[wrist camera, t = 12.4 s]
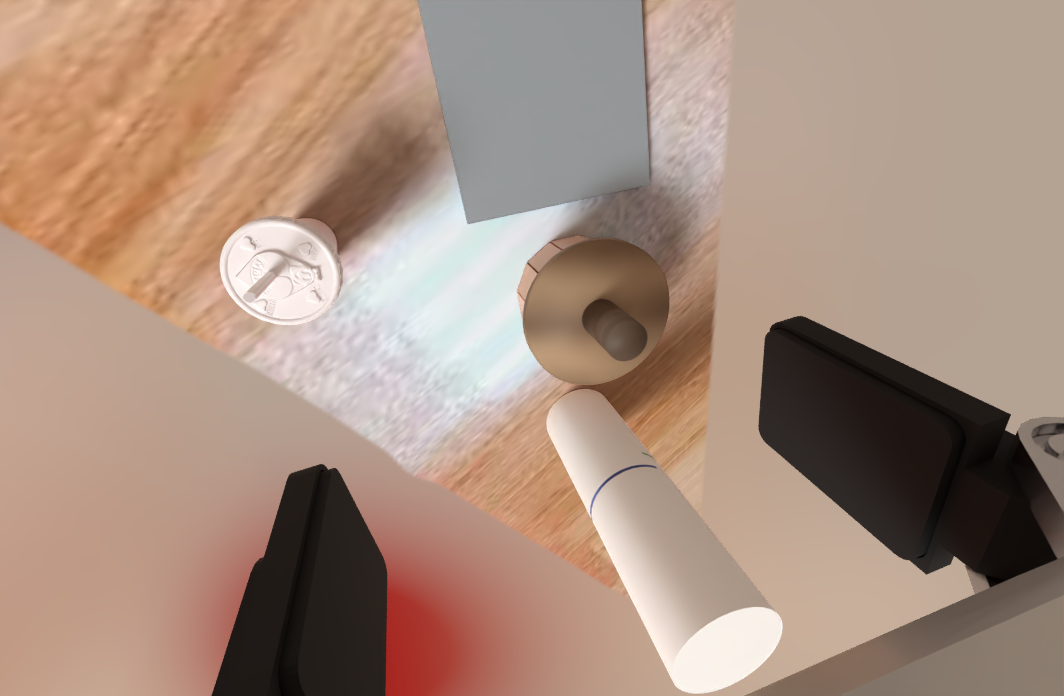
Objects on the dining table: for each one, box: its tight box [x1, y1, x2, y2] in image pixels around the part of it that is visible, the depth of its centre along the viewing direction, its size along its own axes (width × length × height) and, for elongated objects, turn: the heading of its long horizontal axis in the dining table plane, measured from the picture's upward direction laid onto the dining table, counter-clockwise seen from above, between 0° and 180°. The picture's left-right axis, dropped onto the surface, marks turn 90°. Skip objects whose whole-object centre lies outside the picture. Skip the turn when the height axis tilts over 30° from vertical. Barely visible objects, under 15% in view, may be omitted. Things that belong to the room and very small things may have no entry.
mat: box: [418, 0, 650, 224], centre depth 35 cm, size 16×16×1 cm
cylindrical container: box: [547, 389, 783, 694], centre depth 37 cm, size 7×7×25 cm
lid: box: [523, 238, 669, 385], centre depth 34 cm, size 12×12×6 cm
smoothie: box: [220, 216, 343, 325], centre depth 29 cm, size 6×6×14 cm
